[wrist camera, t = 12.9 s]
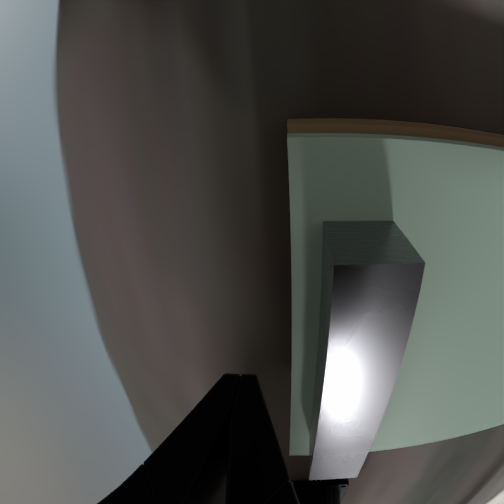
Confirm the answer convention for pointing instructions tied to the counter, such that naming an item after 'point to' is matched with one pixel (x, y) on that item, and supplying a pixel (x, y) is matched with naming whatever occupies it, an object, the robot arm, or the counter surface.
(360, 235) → the lid
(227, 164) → the counter surface
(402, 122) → the open wooden tray
